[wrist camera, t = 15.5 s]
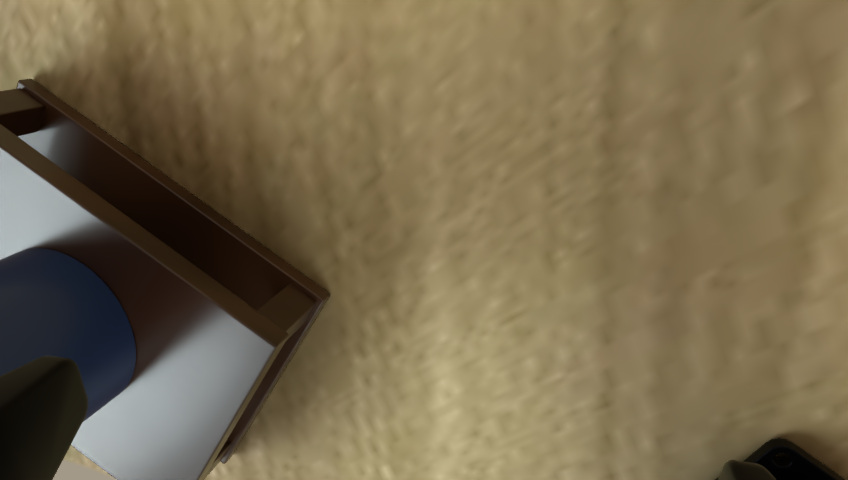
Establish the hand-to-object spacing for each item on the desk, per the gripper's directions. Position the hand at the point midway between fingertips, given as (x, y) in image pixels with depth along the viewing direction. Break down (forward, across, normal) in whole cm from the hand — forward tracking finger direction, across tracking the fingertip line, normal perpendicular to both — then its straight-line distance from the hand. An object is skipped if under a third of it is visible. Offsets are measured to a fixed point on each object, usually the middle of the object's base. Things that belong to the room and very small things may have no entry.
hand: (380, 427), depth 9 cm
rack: (+14, +13, +9) cm, 21 cm away
